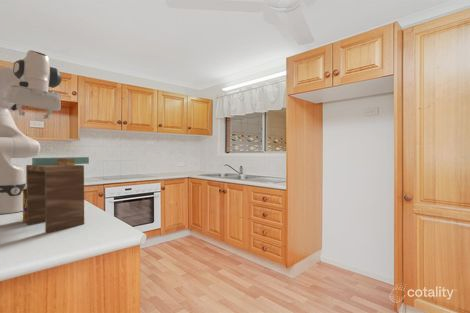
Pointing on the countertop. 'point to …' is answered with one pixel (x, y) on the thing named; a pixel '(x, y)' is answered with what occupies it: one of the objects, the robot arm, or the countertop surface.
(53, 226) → the wooden cabinet unit
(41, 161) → the teal block
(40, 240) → the countertop surface
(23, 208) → the candy box
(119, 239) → the countertop surface
